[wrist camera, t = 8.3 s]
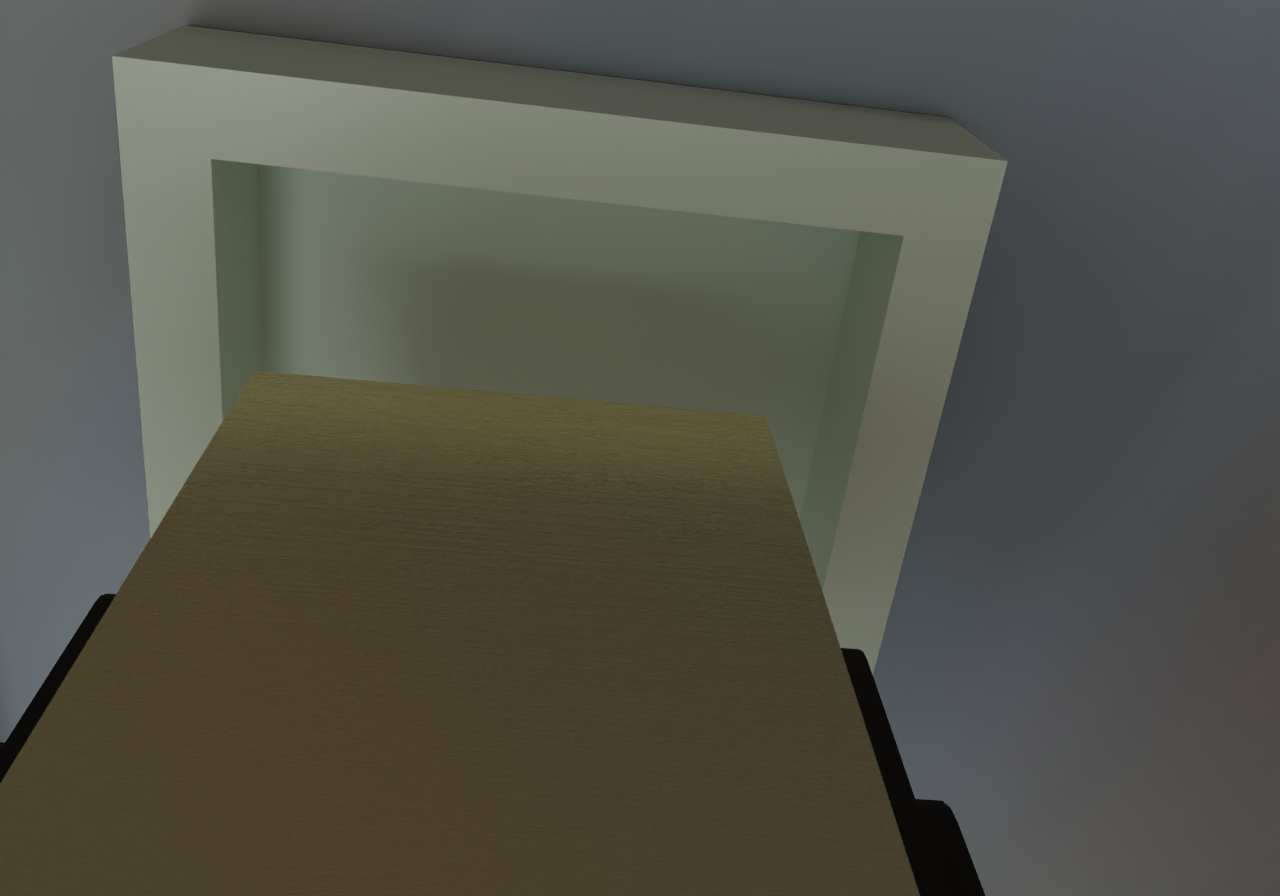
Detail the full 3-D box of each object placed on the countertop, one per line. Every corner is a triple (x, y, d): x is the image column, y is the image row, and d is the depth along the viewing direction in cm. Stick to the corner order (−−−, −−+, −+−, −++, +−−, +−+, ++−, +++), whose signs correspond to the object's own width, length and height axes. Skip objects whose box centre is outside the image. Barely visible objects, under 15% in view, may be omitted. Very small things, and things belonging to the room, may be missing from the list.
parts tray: (949, 118, 16) (1008, 160, 13) (811, 704, 20) (837, 810, 18) (185, 25, 15) (112, 55, 13) (217, 659, 19) (168, 765, 17)
